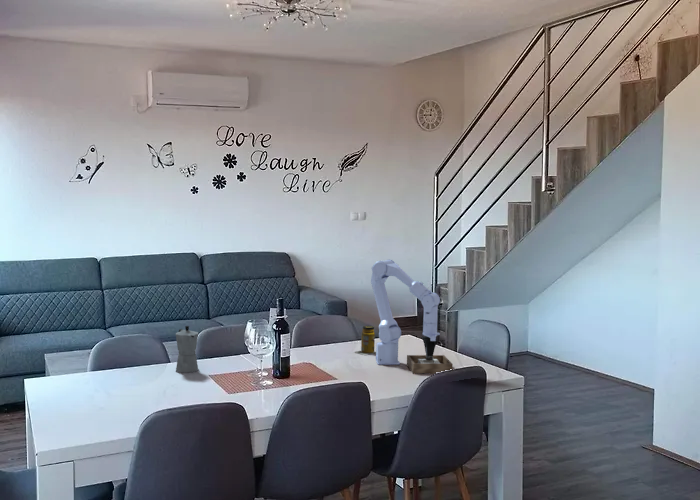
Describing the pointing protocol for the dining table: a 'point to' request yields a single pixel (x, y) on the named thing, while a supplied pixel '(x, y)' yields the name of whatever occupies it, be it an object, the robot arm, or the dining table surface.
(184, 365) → the coffeepot
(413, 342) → the dining table surface
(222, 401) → the dining table surface
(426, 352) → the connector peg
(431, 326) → the robot arm
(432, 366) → the walled box
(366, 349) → the condiment
